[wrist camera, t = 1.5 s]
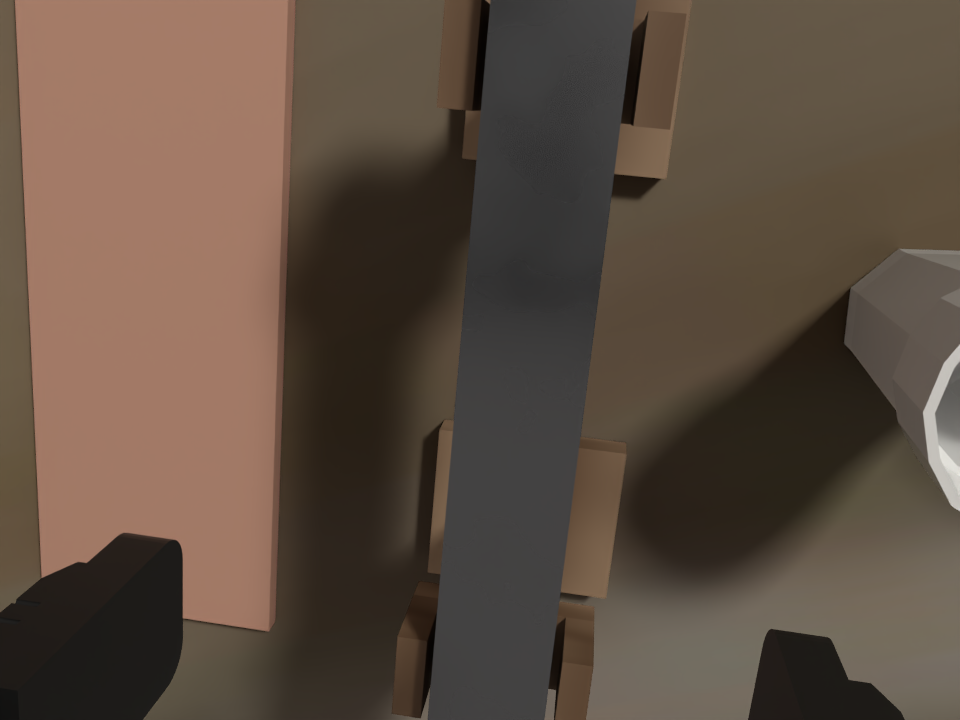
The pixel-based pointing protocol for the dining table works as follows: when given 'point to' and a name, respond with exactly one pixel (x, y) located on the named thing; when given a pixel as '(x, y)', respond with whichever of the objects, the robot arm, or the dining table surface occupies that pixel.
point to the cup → (915, 352)
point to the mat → (160, 282)
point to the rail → (526, 346)
